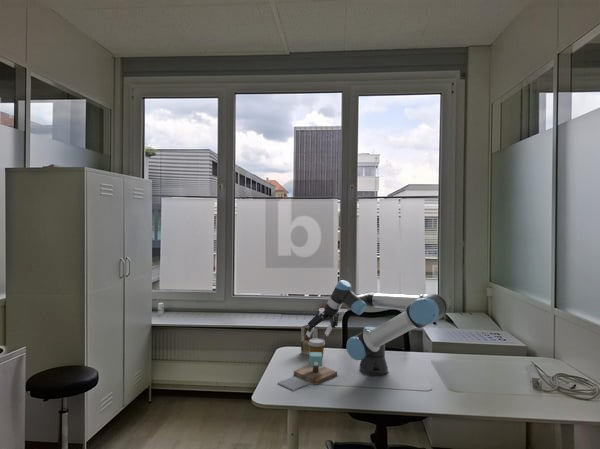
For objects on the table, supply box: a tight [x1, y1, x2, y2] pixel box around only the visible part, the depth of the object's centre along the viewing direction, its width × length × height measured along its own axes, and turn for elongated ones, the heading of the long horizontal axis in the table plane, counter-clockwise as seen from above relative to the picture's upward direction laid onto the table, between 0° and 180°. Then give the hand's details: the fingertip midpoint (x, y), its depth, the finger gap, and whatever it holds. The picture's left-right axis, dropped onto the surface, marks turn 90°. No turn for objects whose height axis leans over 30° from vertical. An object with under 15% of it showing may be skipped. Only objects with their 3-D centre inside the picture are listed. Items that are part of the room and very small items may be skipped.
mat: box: [277, 376, 310, 392], centre depth 194 cm, size 11×11×1 cm
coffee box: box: [300, 324, 320, 356], centre depth 238 cm, size 9×6×16 cm
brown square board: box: [293, 364, 338, 385], centre depth 205 cm, size 16×16×10 cm
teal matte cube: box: [308, 352, 323, 366], centre depth 205 cm, size 6×7×5 cm
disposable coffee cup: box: [309, 338, 326, 359], centre depth 225 cm, size 10×10×12 cm
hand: (317, 335), depth 221 cm, fingers open, 13 cm apart
